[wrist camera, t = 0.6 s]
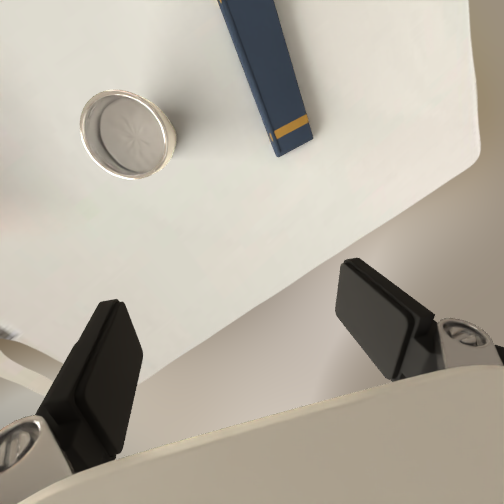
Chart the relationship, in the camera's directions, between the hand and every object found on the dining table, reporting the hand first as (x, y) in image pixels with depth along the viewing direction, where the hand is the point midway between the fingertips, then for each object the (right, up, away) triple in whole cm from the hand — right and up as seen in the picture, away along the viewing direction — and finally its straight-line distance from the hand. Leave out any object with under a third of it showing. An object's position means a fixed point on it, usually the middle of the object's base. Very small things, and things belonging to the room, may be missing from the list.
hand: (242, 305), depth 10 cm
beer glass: (-13, +18, +22) cm, 32 cm away
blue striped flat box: (+2, +27, +22) cm, 35 cm away
